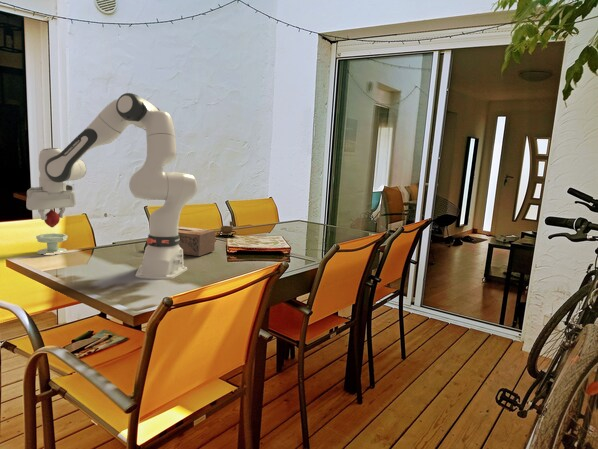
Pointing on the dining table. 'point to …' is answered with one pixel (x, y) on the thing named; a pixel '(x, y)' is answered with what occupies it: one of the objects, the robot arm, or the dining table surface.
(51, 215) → the onion
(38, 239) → the stand
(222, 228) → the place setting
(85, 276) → the dining table surface
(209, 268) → the dining table surface
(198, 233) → the tissue box cover
